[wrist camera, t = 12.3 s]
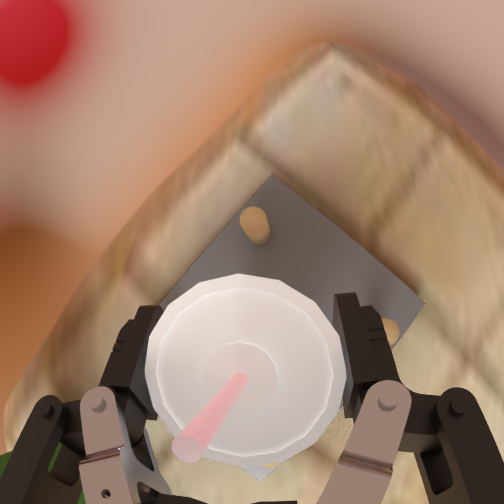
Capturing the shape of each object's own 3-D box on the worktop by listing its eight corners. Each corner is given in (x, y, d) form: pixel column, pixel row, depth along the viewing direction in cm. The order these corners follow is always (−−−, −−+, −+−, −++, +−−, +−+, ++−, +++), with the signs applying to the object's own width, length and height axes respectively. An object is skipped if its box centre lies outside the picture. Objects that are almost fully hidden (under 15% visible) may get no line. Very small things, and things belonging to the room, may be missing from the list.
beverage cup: (197, 370, 18) (20, 471, 4) (234, 273, 18) (89, 186, 5) (295, 409, 17) (294, 602, 3) (335, 311, 17) (466, 323, 4)
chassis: (273, 182, 22) (267, 150, 17) (417, 303, 19) (450, 302, 14) (128, 352, 21) (89, 362, 16) (262, 471, 19) (253, 509, 14)
